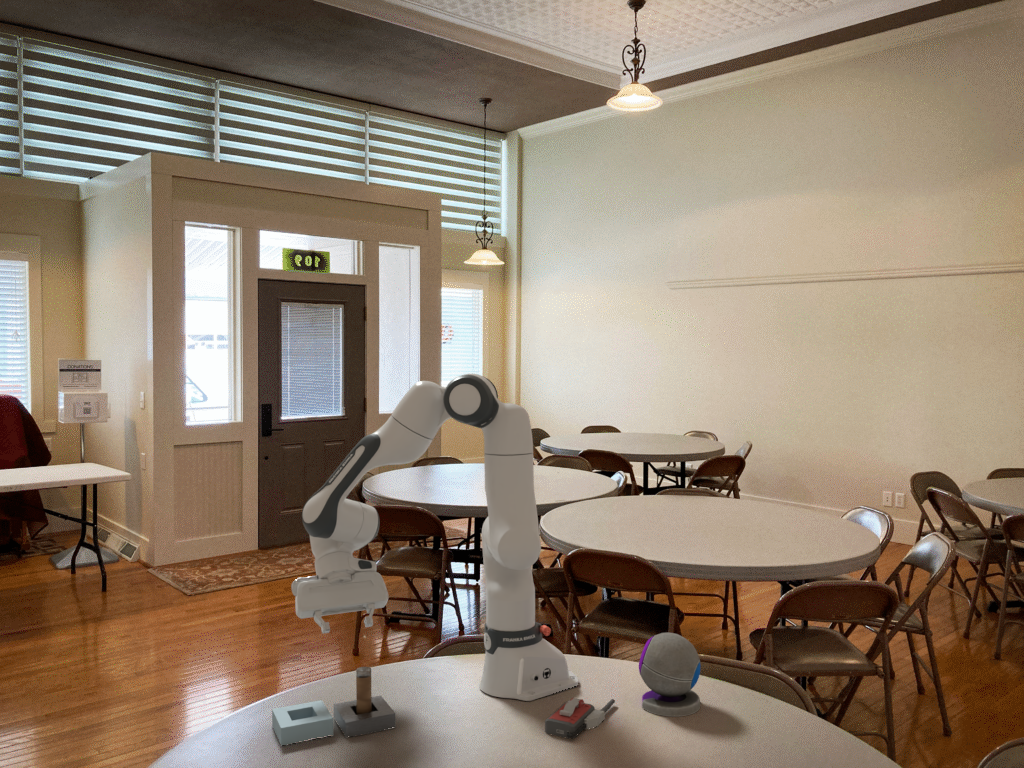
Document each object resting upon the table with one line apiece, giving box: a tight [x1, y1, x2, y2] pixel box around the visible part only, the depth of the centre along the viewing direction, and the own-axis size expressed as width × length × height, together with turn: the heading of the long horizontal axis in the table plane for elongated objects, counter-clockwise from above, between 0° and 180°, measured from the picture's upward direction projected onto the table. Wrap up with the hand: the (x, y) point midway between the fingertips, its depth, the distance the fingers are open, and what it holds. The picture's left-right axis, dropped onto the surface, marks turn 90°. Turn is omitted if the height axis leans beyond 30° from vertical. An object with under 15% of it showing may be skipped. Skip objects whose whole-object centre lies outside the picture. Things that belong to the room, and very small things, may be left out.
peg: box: [355, 666, 373, 715], centre depth 167 cm, size 3×3×11 cm
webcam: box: [638, 632, 701, 717], centre depth 175 cm, size 13×13×15 cm
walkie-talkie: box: [544, 697, 616, 739], centre depth 167 cm, size 9×4×20 cm
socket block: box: [333, 695, 397, 738], centre depth 167 cm, size 10×10×3 cm
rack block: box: [271, 699, 334, 746], centre depth 163 cm, size 10×10×4 cm
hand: (348, 628), depth 177 cm, fingers open, 8 cm apart
